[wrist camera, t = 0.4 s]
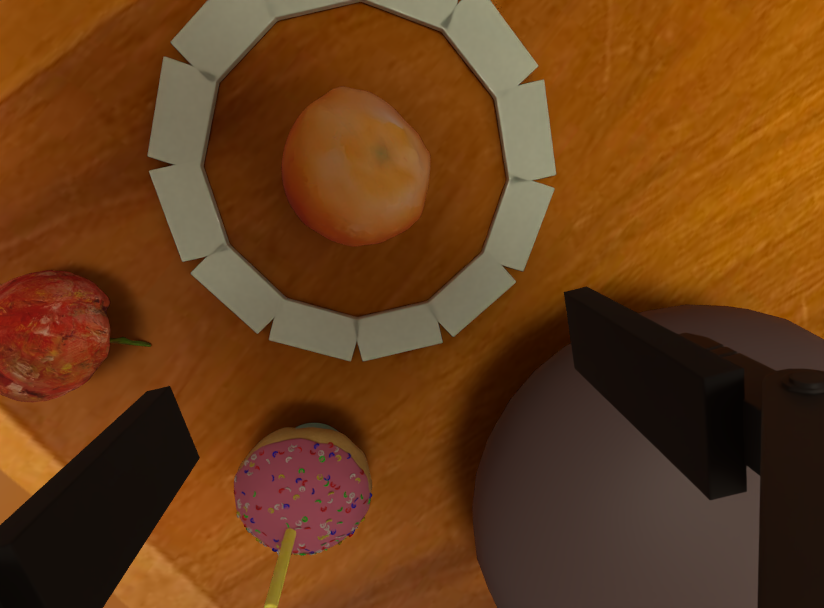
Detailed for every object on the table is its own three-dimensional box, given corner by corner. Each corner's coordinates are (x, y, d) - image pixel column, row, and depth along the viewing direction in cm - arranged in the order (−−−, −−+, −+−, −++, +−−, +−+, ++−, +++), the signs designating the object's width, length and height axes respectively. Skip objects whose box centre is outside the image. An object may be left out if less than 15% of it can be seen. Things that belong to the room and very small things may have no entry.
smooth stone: (833, 339, 34) (1173, 458, 19) (675, 599, 39) (846, 841, 25) (533, 228, 30) (676, 274, 15) (406, 533, 35) (425, 774, 21)
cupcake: (350, 512, 35) (335, 678, 23) (239, 483, 33) (165, 644, 22) (388, 415, 33) (393, 544, 21) (272, 381, 31) (209, 497, 20)
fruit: (233, 159, 26) (266, 103, 19) (341, 110, 30) (401, 47, 23) (308, 279, 28) (362, 267, 21) (401, 220, 32) (473, 193, 25)
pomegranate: (167, 274, 31) (-28, 218, 24) (186, 347, 27) (-48, 306, 19) (119, 351, 33) (-74, 321, 26) (129, 431, 29) (-101, 423, 21)
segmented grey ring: (90, -1, 25) (83, -5, 24) (517, -99, 25) (520, -105, 24) (232, 389, 31) (230, 393, 31) (570, 309, 32) (574, 312, 31)
